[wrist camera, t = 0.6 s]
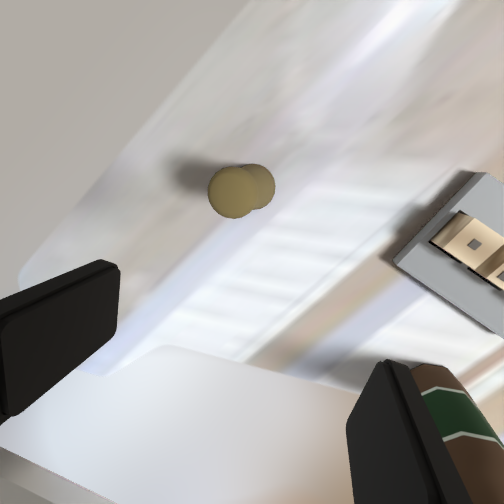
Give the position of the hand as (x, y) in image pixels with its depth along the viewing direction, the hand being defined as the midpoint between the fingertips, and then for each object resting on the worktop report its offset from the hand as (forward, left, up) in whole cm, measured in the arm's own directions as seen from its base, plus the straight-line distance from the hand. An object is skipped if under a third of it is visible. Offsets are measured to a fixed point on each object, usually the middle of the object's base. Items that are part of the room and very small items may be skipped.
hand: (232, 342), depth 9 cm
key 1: (-9, +17, -27) cm, 33 cm away
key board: (-9, +22, -28) cm, 37 cm away
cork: (0, -7, -28) cm, 29 cm away
